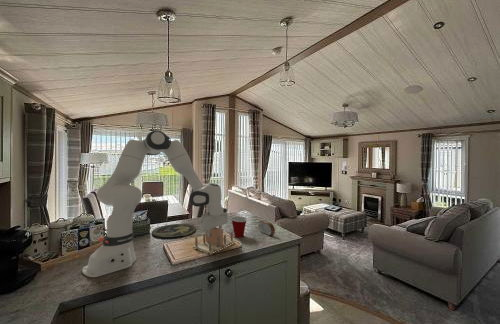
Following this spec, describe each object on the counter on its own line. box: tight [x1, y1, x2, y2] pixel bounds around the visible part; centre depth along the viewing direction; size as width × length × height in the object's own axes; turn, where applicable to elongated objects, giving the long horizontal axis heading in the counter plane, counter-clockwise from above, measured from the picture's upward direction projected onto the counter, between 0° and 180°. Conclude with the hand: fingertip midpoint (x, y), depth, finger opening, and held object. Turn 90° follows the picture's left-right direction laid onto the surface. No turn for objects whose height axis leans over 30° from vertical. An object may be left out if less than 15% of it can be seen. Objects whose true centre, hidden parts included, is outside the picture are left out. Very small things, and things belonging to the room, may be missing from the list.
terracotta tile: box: [205, 227, 224, 246], centre depth 134 cm, size 2×12×9 cm, turn 54°
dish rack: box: [192, 231, 236, 255], centre depth 134 cm, size 20×15×6 cm
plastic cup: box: [230, 215, 248, 238], centre depth 150 cm, size 11×11×12 cm
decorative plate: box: [151, 223, 197, 240], centre depth 161 cm, size 30×2×30 cm
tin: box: [258, 219, 276, 237], centre depth 155 cm, size 15×3×8 cm, turn 34°
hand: (214, 234), depth 134 cm, fingers open, 7 cm apart
